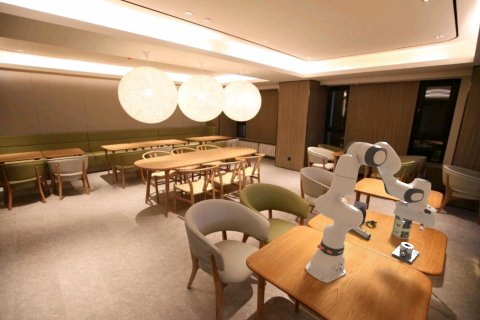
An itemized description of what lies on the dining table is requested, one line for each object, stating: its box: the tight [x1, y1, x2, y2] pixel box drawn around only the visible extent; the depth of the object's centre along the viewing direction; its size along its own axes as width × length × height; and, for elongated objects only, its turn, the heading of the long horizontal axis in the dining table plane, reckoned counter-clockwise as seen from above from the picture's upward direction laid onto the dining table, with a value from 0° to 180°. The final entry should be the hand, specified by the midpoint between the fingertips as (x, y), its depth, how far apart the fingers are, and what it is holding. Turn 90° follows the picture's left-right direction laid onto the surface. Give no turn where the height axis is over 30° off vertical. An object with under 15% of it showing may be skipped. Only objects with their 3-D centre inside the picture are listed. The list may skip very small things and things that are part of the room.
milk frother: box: [353, 201, 378, 225], centre depth 178 cm, size 14×16×15 cm
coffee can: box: [391, 214, 413, 240], centre depth 162 cm, size 10×10×14 cm
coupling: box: [399, 241, 414, 256], centre depth 141 cm, size 6×6×5 cm
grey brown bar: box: [352, 226, 372, 240], centre depth 168 cm, size 5×7×25 cm
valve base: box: [391, 244, 420, 265], centre depth 142 cm, size 15×10×5 cm, turn 129°
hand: (411, 227), depth 138 cm, fingers open, 8 cm apart
